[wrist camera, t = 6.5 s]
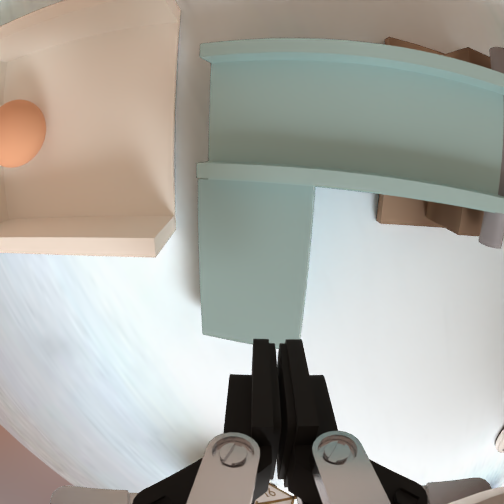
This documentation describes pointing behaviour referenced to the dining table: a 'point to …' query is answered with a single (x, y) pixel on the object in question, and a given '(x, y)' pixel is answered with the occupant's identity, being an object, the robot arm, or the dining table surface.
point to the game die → (275, 497)
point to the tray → (93, 128)
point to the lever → (330, 159)
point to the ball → (20, 132)
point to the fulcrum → (427, 211)
